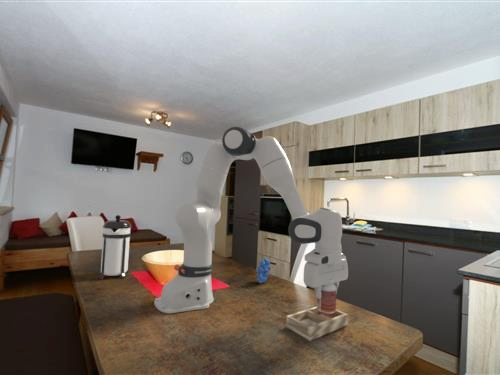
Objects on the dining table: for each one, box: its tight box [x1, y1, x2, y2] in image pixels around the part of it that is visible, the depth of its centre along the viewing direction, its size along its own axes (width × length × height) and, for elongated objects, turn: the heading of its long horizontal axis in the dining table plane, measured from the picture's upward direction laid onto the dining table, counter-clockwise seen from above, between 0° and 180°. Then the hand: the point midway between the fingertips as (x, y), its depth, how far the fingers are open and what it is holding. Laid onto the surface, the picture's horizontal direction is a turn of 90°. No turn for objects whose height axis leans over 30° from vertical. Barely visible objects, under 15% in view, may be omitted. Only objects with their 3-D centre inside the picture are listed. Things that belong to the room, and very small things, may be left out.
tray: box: [285, 305, 349, 342], centre depth 87 cm, size 19×10×4 cm, turn 127°
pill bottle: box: [316, 279, 337, 314], centre depth 90 cm, size 6×6×11 cm
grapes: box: [256, 257, 272, 284], centre depth 131 cm, size 12×7×12 cm, turn 148°
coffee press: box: [98, 214, 132, 280], centre depth 133 cm, size 17×16×30 cm
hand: (326, 296), depth 90 cm, fingers closed on pill bottle, 6 cm apart
